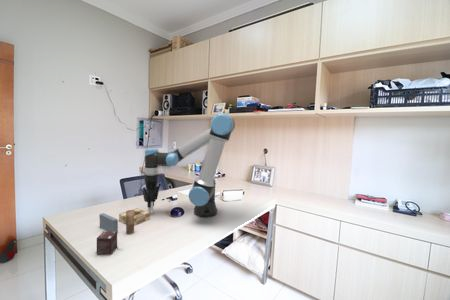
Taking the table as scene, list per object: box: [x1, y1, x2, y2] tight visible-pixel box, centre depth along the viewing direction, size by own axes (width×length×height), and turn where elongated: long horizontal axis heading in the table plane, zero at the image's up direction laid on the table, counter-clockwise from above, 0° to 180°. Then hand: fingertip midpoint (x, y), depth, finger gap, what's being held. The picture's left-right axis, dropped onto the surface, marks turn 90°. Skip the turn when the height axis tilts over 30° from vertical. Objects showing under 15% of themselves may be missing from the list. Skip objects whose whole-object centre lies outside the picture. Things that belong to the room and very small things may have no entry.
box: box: [96, 230, 118, 256], centre depth 89 cm, size 6×6×7 cm
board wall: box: [99, 213, 119, 234], centre depth 115 cm, size 15×28×8 cm, turn 148°
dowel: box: [125, 209, 135, 235], centre depth 104 cm, size 4×4×12 cm
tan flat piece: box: [118, 208, 151, 226], centre depth 118 cm, size 12×12×4 cm
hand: (150, 212), depth 128 cm, fingers closed
